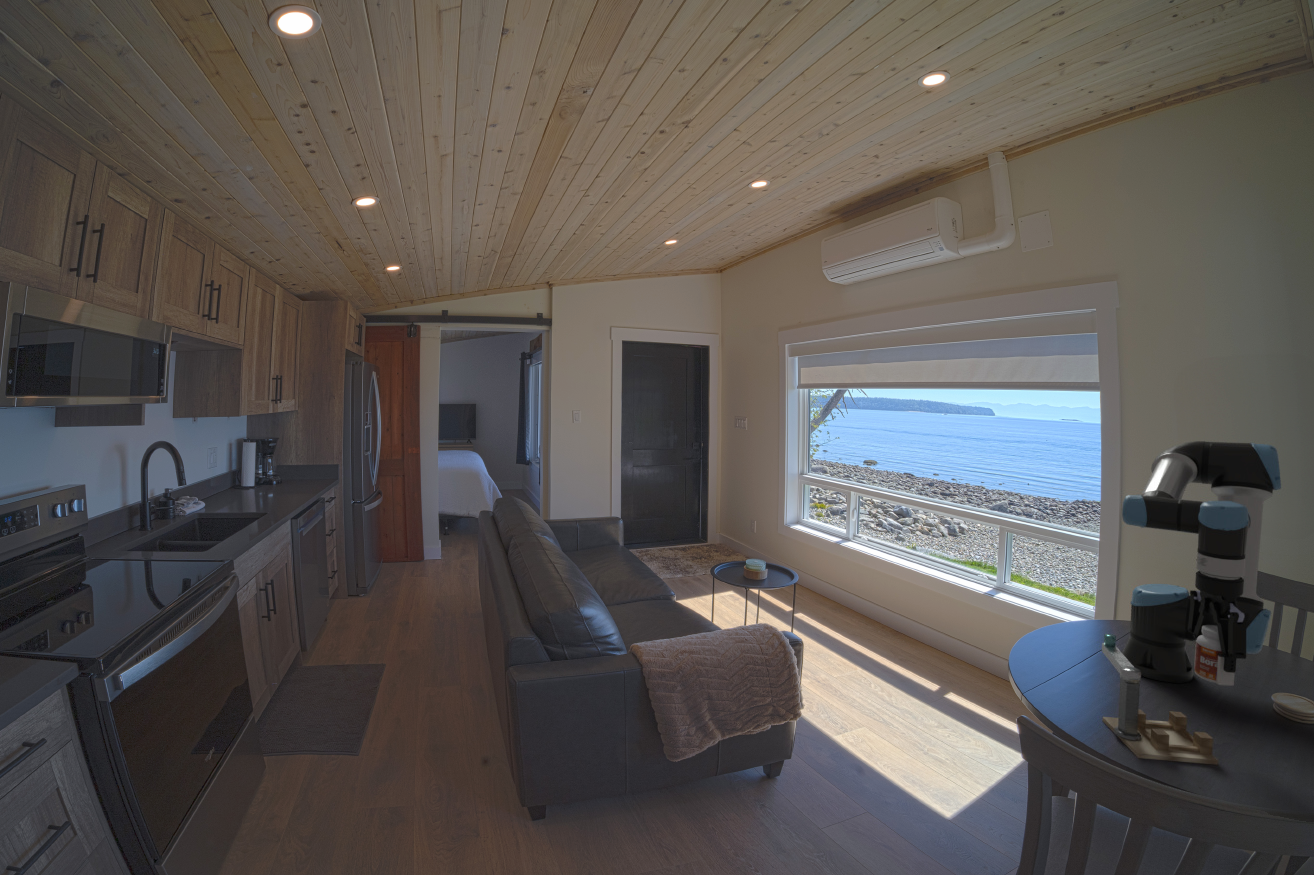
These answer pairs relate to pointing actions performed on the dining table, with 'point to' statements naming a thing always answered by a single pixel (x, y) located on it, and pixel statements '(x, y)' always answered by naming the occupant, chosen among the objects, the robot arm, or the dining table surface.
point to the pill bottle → (1207, 653)
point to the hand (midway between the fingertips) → (1213, 676)
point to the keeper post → (1128, 711)
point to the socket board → (1162, 755)
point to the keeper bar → (1120, 660)
